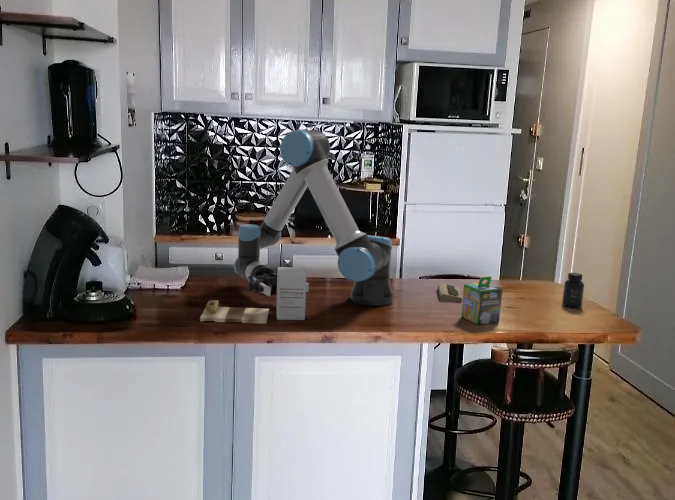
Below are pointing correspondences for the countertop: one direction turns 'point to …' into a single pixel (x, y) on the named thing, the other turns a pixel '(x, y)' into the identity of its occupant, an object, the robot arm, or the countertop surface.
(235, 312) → the plywood board
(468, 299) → the chalk box
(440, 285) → the tan flat block
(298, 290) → the supplement box
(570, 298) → the supplement bottle
